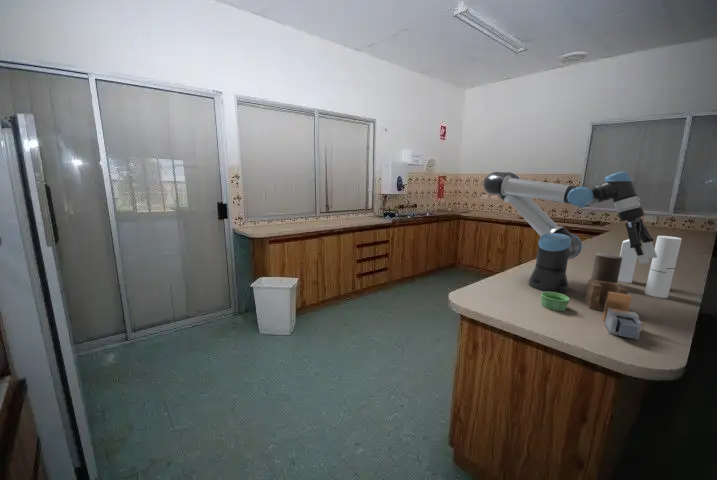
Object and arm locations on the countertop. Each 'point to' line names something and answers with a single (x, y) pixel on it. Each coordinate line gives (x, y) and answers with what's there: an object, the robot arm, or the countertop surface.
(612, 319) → the sleeve
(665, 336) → the countertop surface
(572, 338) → the countertop surface
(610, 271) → the pillar candle
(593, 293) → the socket
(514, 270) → the countertop surface
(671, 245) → the cylindrical container
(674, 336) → the countertop surface
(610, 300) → the brown and grey block
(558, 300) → the ramekin
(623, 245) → the milk
